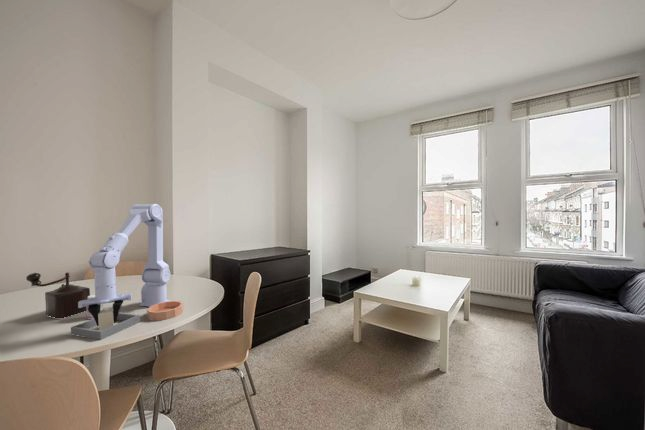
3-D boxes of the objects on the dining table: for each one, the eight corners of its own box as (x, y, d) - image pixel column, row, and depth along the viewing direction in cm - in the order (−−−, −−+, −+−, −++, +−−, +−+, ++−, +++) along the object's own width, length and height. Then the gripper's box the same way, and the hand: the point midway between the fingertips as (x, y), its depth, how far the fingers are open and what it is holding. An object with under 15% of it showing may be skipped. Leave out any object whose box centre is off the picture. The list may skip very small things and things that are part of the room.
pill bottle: (85, 320, 100) (84, 298, 100) (89, 315, 104) (88, 294, 104) (101, 317, 102) (100, 296, 102) (104, 313, 106) (103, 292, 106)
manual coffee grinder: (76, 306, 115) (74, 265, 114) (91, 309, 111) (89, 267, 110) (26, 320, 100) (23, 273, 100) (41, 325, 96) (38, 276, 96)
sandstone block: (98, 331, 91) (98, 313, 90) (101, 326, 94) (100, 309, 94) (113, 328, 93) (112, 311, 92) (115, 323, 96) (115, 307, 96)
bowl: (140, 318, 101) (139, 310, 101) (166, 306, 112) (166, 299, 112) (165, 321, 98) (164, 313, 98) (189, 309, 109) (189, 302, 109)
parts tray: (71, 334, 89) (70, 327, 89) (113, 318, 102) (112, 311, 102) (100, 339, 85) (100, 332, 85) (140, 321, 98) (140, 315, 98)
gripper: (74, 292, 86) (76, 333, 86) (129, 284, 93) (130, 322, 93) (81, 286, 92) (82, 324, 92) (132, 280, 99) (133, 315, 99)
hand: (107, 323), depth 93 cm, fingers closed on sandstone block, 4 cm apart
